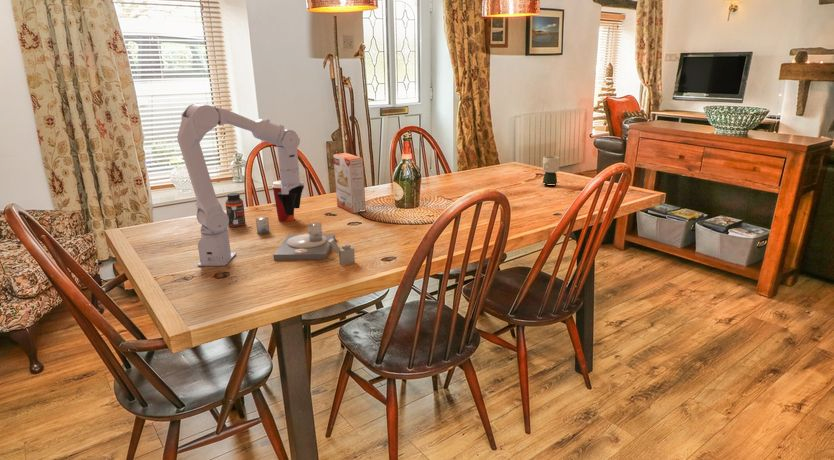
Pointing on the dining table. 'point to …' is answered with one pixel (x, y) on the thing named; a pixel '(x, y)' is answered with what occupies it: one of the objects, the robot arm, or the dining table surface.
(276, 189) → the paper cup
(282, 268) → the dining table surface
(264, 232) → the spacer
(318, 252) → the kitchen scale
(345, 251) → the lighter
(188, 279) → the dining table surface
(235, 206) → the supplement bottle
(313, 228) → the cylinder
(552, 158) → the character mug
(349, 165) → the cracker box
